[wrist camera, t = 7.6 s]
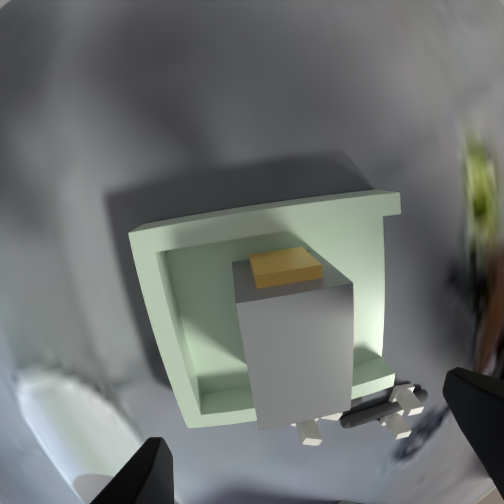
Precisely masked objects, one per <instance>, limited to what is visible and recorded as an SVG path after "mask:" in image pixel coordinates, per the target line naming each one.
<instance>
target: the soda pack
mask: <svg viewBox="0 0 504 504" xmlns="http://www.w3.org/2000/svg"><path fill="white" fill-rule="evenodd" d="M334 504H361V503H355V502H349V501H338V502H336V503H334Z"/></svg>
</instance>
